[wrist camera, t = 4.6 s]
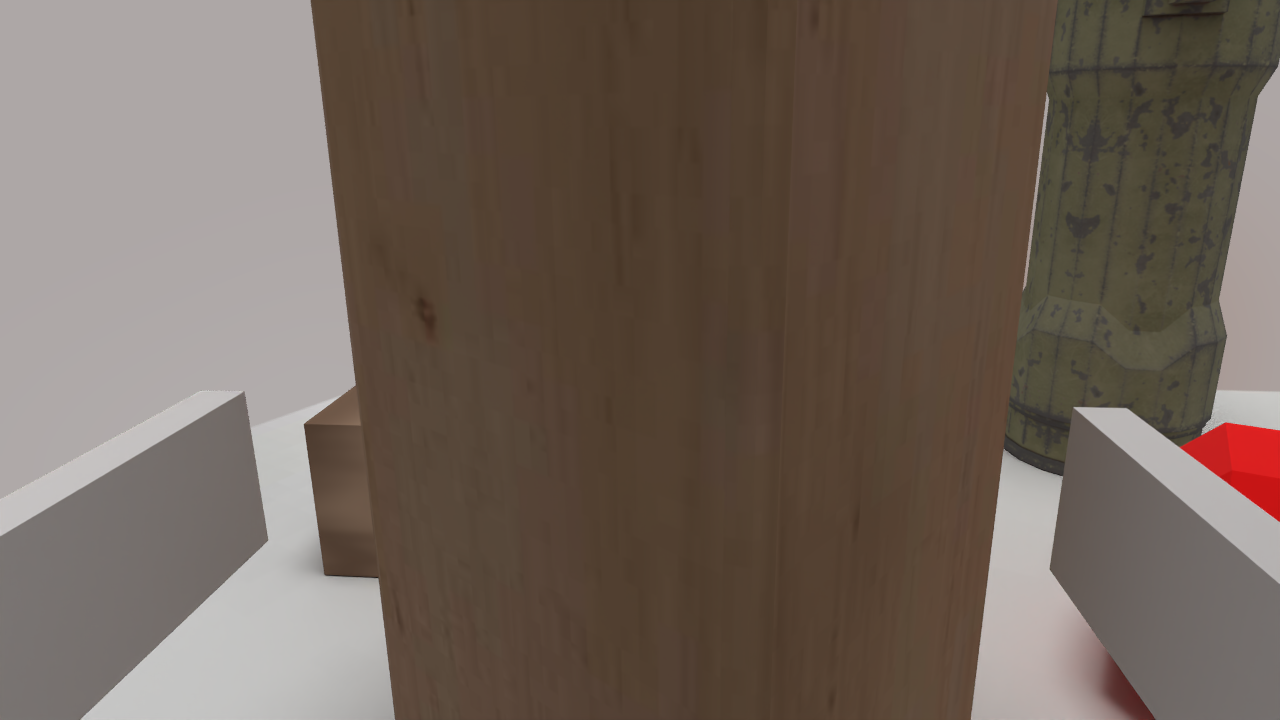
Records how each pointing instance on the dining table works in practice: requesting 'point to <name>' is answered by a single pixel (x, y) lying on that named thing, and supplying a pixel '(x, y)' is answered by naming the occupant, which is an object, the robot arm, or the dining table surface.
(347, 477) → the walnut pedestal block
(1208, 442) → the ball
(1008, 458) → the dining table surface
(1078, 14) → the thermos
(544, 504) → the wooden block
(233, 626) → the dining table surface
